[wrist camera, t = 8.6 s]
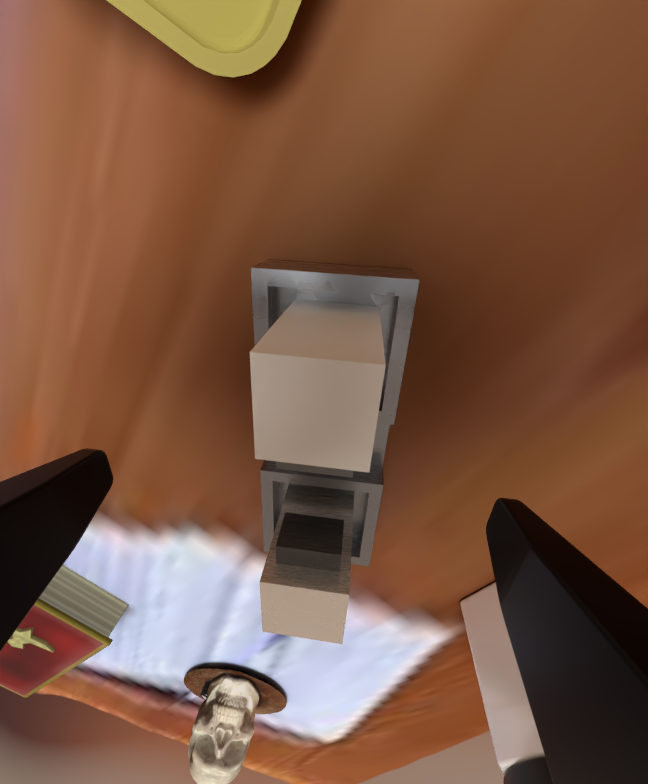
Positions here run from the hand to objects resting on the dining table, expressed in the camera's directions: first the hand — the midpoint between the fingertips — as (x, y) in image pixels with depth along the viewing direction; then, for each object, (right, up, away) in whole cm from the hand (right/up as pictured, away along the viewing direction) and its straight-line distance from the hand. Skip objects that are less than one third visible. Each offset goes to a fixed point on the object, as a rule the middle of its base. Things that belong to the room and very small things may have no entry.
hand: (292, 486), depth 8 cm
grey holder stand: (+1, 0, +13) cm, 13 cm away
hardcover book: (-30, -21, +29) cm, 46 cm away
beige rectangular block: (+1, +5, +9) cm, 10 cm away
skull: (-9, -32, +32) cm, 46 cm away
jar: (+16, -15, +20) cm, 29 cm away
